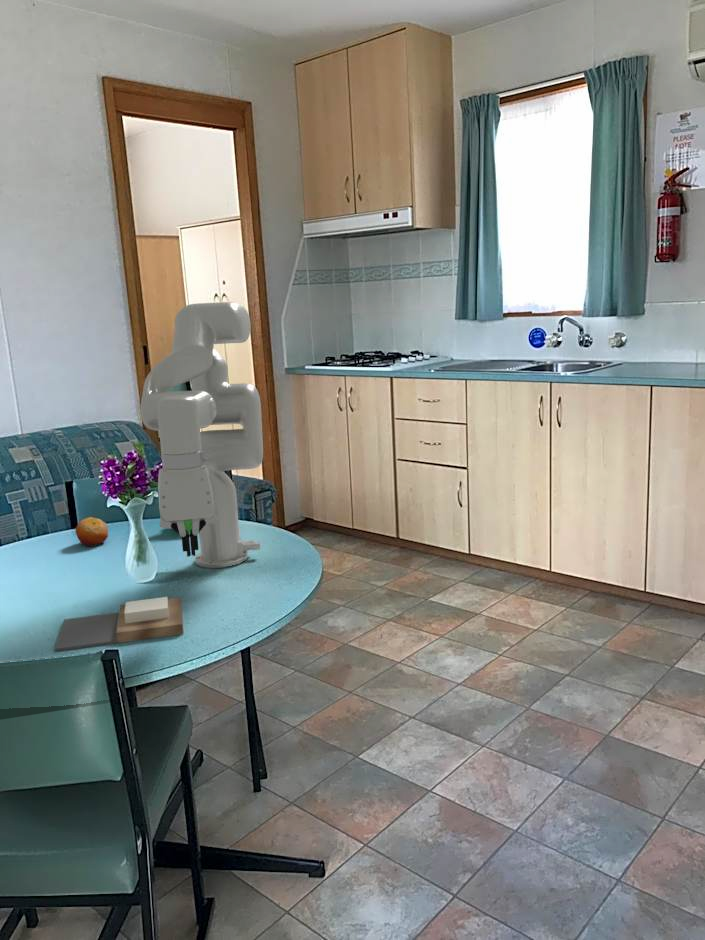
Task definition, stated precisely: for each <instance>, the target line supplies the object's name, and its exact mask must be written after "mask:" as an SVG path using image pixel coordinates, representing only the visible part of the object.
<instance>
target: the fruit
mask: <svg viewBox="0 0 705 940" xmlns="http://www.w3.org/2000/svg"><path fill="white" fill-rule="evenodd" d="M75 534H76V537H77V539H78V541H79V545H81V544H82V545H83V546H87V547H95V546H97V545H99V544H102V543H104V542H105V541H106V540H107V539H108V537H109V529H108V525H107V523H106V522H105V521H103V520H102V519H100V518H97V517H93V516H90V517H86V518H84V519H81V520H80V521H79V522H78V523H77V525H76V527H75Z"/></svg>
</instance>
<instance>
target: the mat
mask: <svg viewBox="0 0 705 940" xmlns="http://www.w3.org/2000/svg"><path fill="white" fill-rule="evenodd" d="M118 617H119V611H118V612H109V613H103V614H97V615H95V614H94V615H88V616H82V617H81V616H80V617H72V618H65V619H63V621H62V625H61V626H60V631H59V635H58V637H57V640H56V643H55V647H54V652H61V650H62V651H67V650H68V651H69V650H75V649H83V648H91V647H98V646H105V645H112V644H118V643H117V636H116V631H117V624H118Z"/></svg>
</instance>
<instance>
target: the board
mask: <svg viewBox="0 0 705 940" xmlns="http://www.w3.org/2000/svg"><path fill="white" fill-rule="evenodd" d="M125 606H126V603H125V604H120V606H119V611H118V612H119V617H118V624H117V631H116V636H117V643H116V644H120V643H126V642H133V641H134V642H135V641H141V640H147V639H155V638H163V637H169V636H170V637H171V636H176V635H184V623H183V621H184V620H183V619H184V618H183V604H182V597H174V598H168V606H169V618H162V619H154V620H147V621H139V622H132V623H126V622H125V614H124V613H125Z"/></svg>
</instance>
